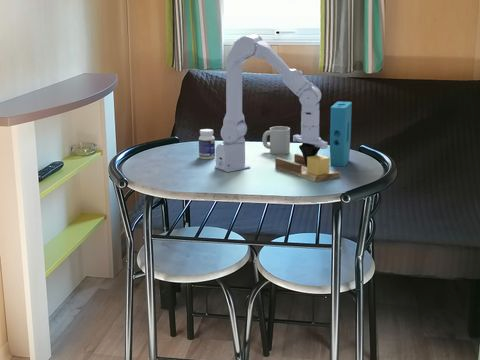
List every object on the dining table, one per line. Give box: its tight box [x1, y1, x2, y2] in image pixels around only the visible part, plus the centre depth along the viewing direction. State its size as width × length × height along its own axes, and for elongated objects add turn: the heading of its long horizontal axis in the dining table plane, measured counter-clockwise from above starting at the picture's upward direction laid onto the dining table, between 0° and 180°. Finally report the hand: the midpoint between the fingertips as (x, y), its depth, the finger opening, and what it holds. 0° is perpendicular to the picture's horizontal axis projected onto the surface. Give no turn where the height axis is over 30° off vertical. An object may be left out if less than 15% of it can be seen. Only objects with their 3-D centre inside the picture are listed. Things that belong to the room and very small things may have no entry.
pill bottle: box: [198, 128, 216, 160], centre depth 238 cm, size 6×6×10 cm
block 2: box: [329, 101, 353, 167], centre depth 228 cm, size 12×5×20 cm, turn 160°
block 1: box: [307, 154, 331, 176], centre depth 214 cm, size 5×5×5 cm
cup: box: [261, 125, 291, 156], centre depth 244 cm, size 7×10×9 cm
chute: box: [274, 153, 341, 183], centre depth 219 cm, size 9×21×4 cm, turn 35°
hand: (309, 166), depth 218 cm, fingers closed
